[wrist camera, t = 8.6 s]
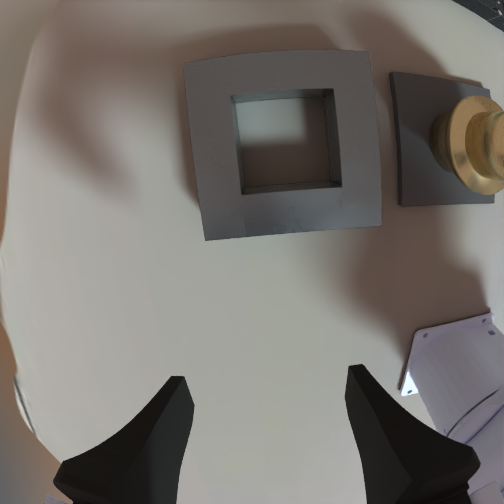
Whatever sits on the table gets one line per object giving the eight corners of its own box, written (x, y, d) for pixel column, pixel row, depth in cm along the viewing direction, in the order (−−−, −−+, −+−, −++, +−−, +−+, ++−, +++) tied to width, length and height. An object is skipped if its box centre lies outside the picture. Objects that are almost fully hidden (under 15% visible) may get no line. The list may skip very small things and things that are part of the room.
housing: (353, 64, 15) (367, 51, 12) (365, 213, 19) (381, 225, 16) (195, 75, 16) (182, 63, 13) (213, 226, 19) (205, 240, 17)
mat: (484, 90, 15) (489, 89, 14) (489, 201, 18) (494, 203, 17) (389, 73, 15) (392, 71, 15) (398, 204, 18) (402, 206, 18)
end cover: (480, 108, 15) (552, 106, 8) (481, 186, 17) (551, 211, 10) (416, 94, 15) (487, 78, 8) (419, 182, 17) (490, 207, 10)
